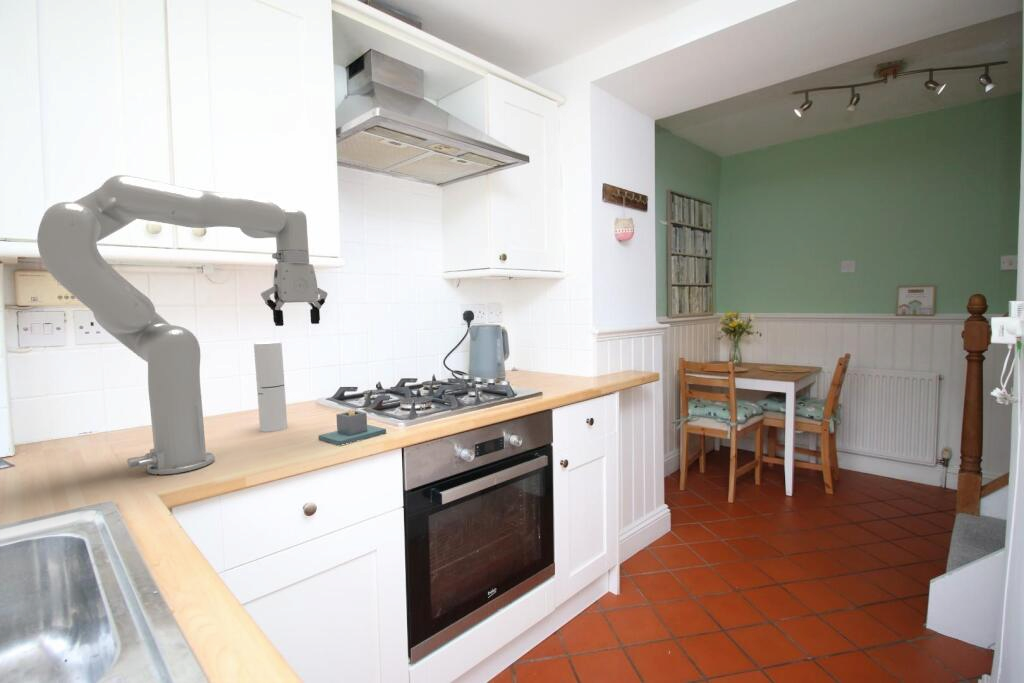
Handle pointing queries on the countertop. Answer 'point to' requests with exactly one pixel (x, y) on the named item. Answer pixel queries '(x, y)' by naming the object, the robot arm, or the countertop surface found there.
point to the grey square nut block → (351, 423)
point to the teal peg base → (343, 439)
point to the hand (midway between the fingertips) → (297, 324)
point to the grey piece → (270, 386)
